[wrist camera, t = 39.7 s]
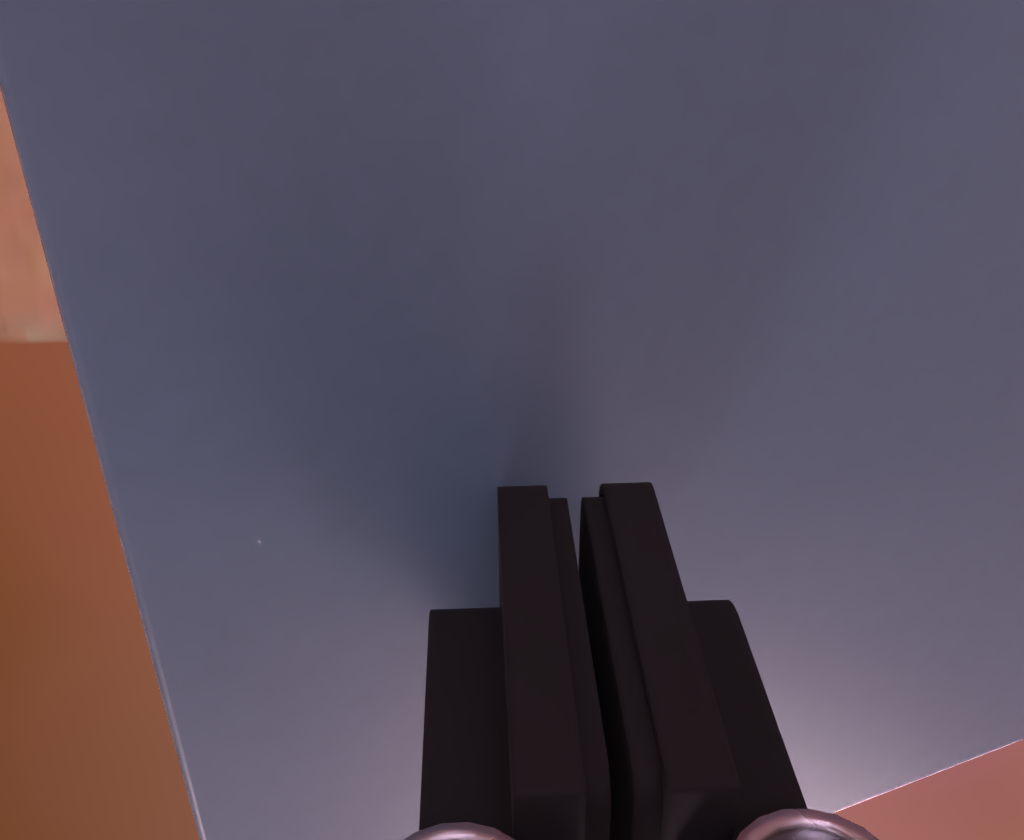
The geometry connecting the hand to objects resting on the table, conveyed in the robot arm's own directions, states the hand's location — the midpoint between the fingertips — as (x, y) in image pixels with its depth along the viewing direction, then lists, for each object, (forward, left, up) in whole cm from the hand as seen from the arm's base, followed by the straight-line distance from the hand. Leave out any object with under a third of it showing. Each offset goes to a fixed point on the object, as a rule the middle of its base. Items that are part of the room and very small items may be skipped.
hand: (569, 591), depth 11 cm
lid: (+3, 0, -2) cm, 4 cm away
